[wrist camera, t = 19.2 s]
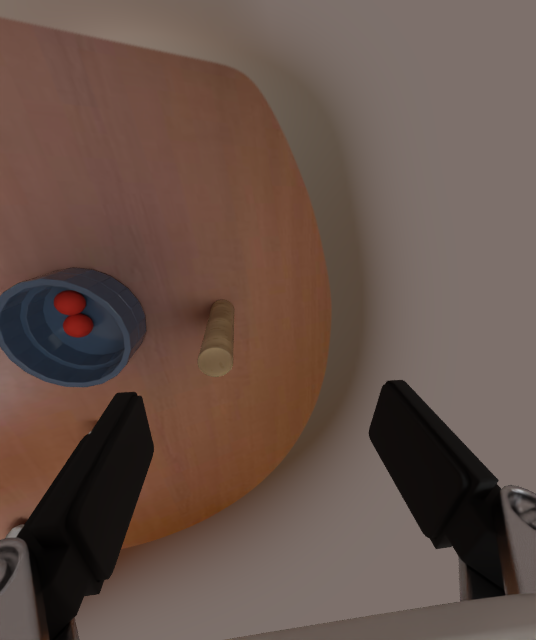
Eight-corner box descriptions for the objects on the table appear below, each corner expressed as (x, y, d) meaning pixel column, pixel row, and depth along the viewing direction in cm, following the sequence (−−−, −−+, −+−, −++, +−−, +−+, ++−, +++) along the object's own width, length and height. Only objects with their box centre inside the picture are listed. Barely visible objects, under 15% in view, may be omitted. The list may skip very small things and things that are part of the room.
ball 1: (89, 294, 29) (62, 281, 28) (71, 315, 27) (43, 302, 27) (93, 303, 31) (68, 291, 30) (78, 322, 30) (51, 310, 29)
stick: (206, 306, 33) (190, 357, 22) (227, 295, 33) (221, 341, 21) (218, 324, 35) (209, 382, 23) (238, 314, 34) (239, 367, 23)
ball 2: (51, 325, 29) (68, 306, 29) (73, 329, 32) (89, 312, 32) (66, 340, 28) (84, 321, 29) (87, 343, 31) (103, 325, 31)
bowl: (9, 300, 30) (-41, 320, 25) (96, 246, 29) (63, 254, 23) (92, 374, 36) (65, 404, 30) (167, 332, 34) (155, 354, 29)
